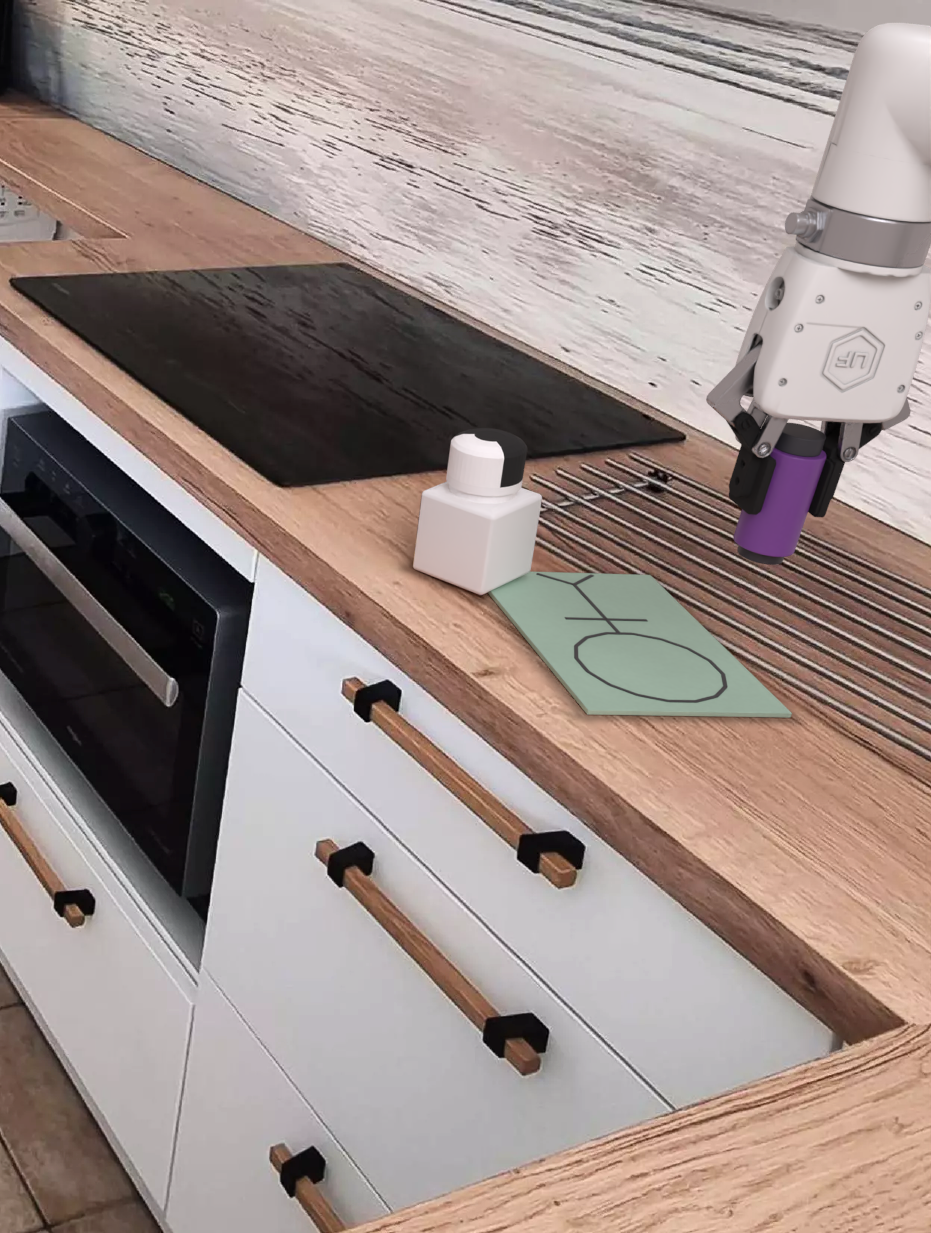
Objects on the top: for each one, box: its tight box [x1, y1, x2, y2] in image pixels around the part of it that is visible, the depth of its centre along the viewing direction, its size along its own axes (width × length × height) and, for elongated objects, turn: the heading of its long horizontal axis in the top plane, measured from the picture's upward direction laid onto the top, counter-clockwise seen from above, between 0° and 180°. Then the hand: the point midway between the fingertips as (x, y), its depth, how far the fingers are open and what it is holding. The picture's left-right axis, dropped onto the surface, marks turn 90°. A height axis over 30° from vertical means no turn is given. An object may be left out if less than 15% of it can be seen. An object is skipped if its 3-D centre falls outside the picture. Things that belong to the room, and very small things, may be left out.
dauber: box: [732, 422, 827, 566], centre depth 117 cm, size 4×4×9 cm
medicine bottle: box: [412, 427, 543, 596], centre depth 145 cm, size 7×7×12 cm
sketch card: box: [486, 571, 793, 719], centre depth 139 cm, size 24×16×1 cm, turn 8°
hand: (776, 505), depth 118 cm, fingers closed on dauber, 4 cm apart
